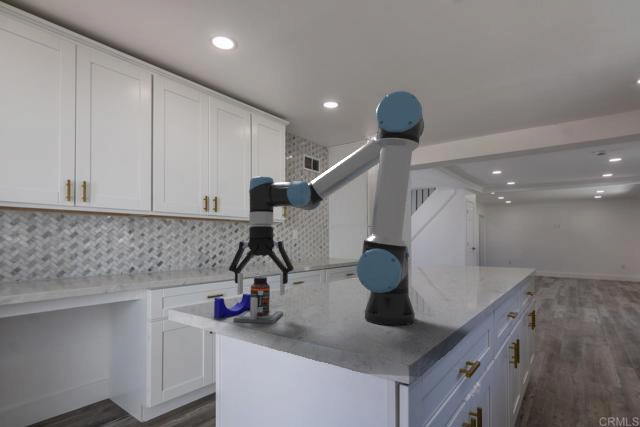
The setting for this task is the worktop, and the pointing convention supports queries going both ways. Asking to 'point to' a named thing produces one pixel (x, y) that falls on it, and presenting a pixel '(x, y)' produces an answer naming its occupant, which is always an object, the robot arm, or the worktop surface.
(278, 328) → the worktop surface
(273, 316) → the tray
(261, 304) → the supplement bottle
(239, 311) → the cable clip
